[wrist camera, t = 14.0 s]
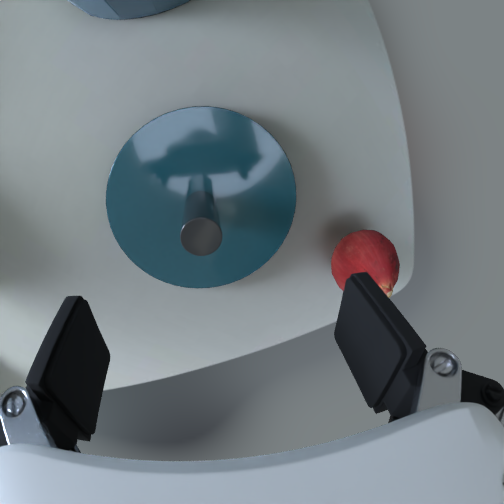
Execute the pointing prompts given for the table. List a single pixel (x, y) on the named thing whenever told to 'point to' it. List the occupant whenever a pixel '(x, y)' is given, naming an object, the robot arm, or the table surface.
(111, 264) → the table surface
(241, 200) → the lid
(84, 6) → the pot
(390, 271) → the red pomegranate
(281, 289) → the table surface
